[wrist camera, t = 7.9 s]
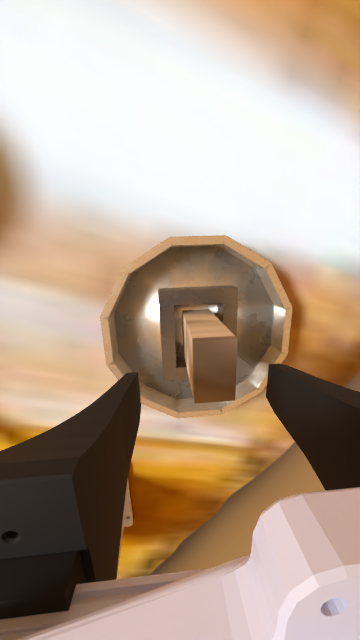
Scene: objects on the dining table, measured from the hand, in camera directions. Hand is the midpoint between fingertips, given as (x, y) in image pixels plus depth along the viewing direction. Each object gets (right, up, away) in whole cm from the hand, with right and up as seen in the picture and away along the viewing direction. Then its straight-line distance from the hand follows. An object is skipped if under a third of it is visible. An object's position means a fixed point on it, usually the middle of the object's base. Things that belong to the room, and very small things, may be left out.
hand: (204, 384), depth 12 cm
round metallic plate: (0, +3, +9) cm, 9 cm away
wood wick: (0, +2, +9) cm, 9 cm away
